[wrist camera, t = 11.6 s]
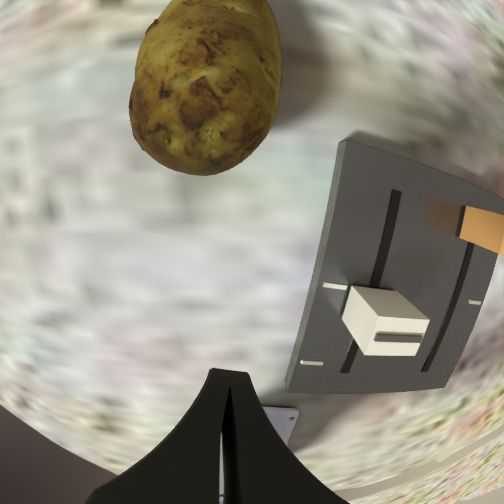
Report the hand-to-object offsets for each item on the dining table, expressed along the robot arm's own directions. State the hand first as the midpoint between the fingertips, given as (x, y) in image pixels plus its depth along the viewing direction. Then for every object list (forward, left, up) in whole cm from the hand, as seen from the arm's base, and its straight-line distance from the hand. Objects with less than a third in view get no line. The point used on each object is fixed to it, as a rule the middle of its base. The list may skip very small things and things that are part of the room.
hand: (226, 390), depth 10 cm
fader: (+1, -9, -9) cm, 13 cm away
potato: (+14, +3, -11) cm, 18 cm away
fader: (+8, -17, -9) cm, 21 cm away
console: (+2, -13, -10) cm, 17 cm away
